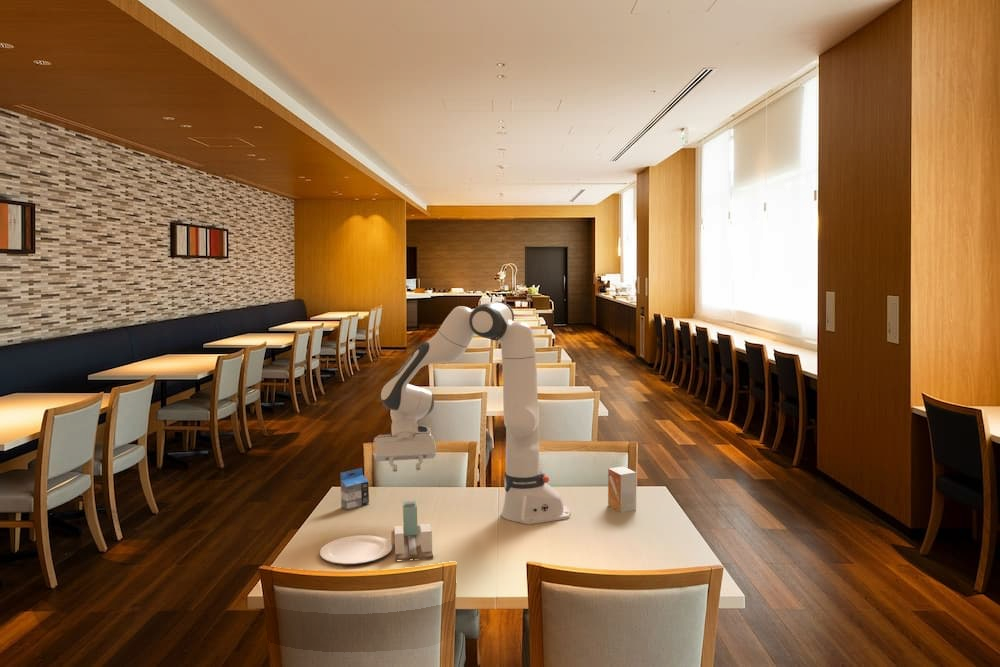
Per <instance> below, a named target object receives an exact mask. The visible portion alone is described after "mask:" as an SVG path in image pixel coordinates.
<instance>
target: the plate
mask: <svg viewBox="0 0 1000 667" xmlns="http://www.w3.org/2000/svg"><path fill="white" fill-rule="evenodd" d="M392 549H393V544H392V542H391V541H389V540H388V539H386V538H384V537H381V536H377V535H368V534H367V535H365V534H363V535H362V534H361V535H359V534H358V535H350V536H344V537H339V538H337V539H335V540H331V541H330V542H328V543H326V544H324V546H322V547H321V548H320V550H319V556H320V558H321V559H322V560H325V561H327V562H328V563H332V564H335V565H345V566H346V565H352V566H355V565H361V564H363V565H364V564H367V563H373V562H375V561H378V560H381V559H383V558H384V557H386V556H387V555H389V554H390V553H391V552H392Z"/></svg>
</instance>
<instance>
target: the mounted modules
mask: <svg viewBox="0 0 1000 667" xmlns="http://www.w3.org/2000/svg"><path fill="white" fill-rule="evenodd" d="M419 526H420V543H421V550H422V552H430V551H432V552H433V533H432V532H433V530H432V527H431V523H421V524H419ZM403 527H404V525H397V526H396V525H394V526H393V533H394V532H395V542H394V554H404V532H403Z"/></svg>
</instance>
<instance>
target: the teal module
mask: <svg viewBox="0 0 1000 667" xmlns="http://www.w3.org/2000/svg"><path fill="white" fill-rule="evenodd" d="M402 518H403V519H402V520H403V527H404V536H409V535H418V529H417V526H418V506H417V500H414V499H413V500H412V499H411V500H402Z"/></svg>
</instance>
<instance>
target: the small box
mask: <svg viewBox="0 0 1000 667" xmlns="http://www.w3.org/2000/svg"><path fill="white" fill-rule="evenodd" d="M607 478H608V480H607V481H608V482H607V483H608V484H607V485H608V486H607V488H608V489H607V493H608V494H607V506H609V507H611V508H612V509H614V510H616V511H617V512H619V513H625V512H631V511H636V510H637V471H634V470H632V469H630V468H627V467H625V466H624V465H623V466H617V467H610V468H608V473H607Z"/></svg>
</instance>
